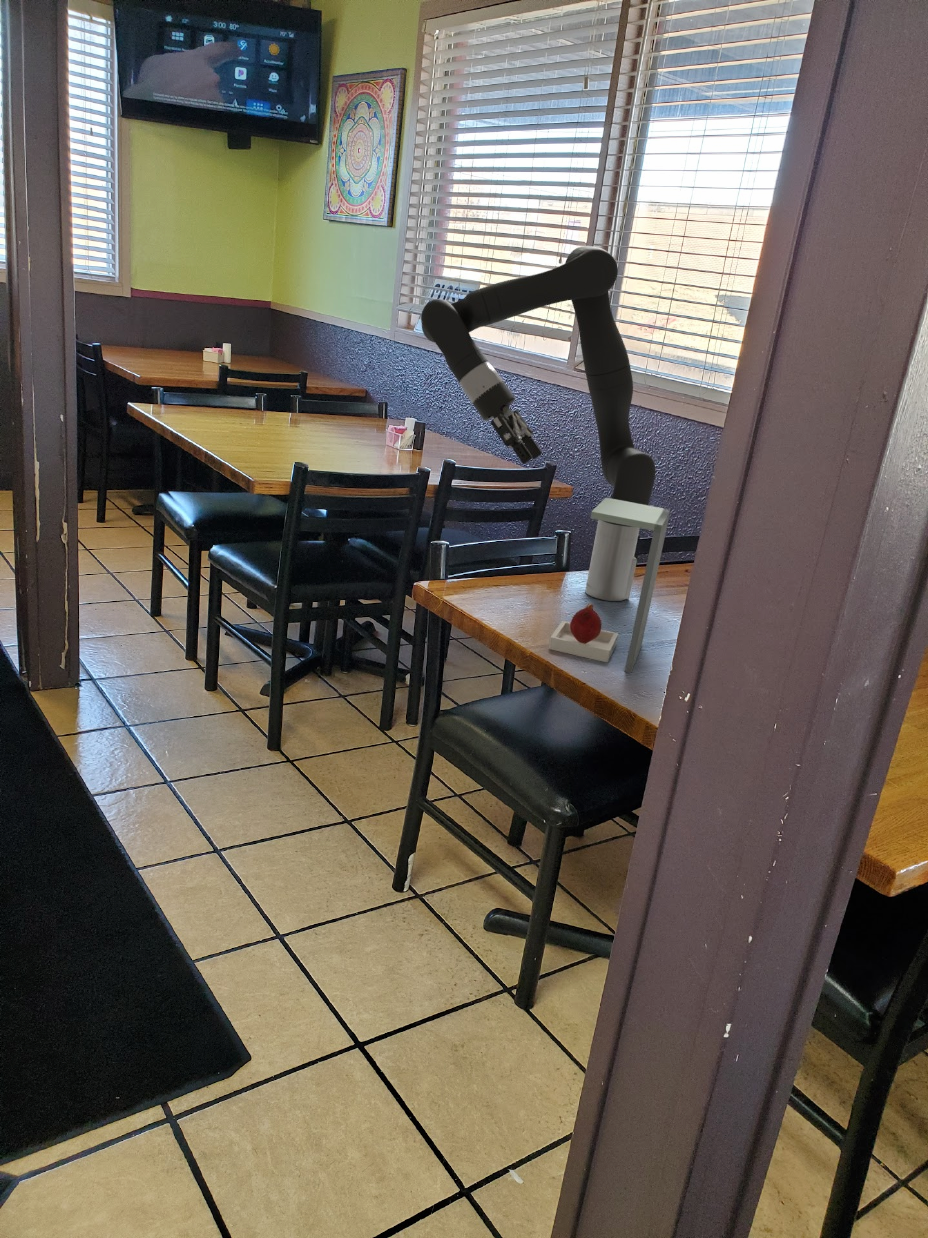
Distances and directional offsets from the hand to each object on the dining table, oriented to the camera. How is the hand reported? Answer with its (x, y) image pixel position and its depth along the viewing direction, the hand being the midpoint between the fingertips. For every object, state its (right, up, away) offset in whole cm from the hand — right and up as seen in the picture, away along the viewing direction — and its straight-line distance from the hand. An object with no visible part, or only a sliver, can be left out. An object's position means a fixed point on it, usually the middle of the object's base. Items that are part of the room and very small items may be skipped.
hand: (533, 458), depth 185 cm
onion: (+9, -37, -9) cm, 39 cm away
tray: (+9, -37, -9) cm, 39 cm away
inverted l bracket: (+13, -38, -10) cm, 41 cm away
